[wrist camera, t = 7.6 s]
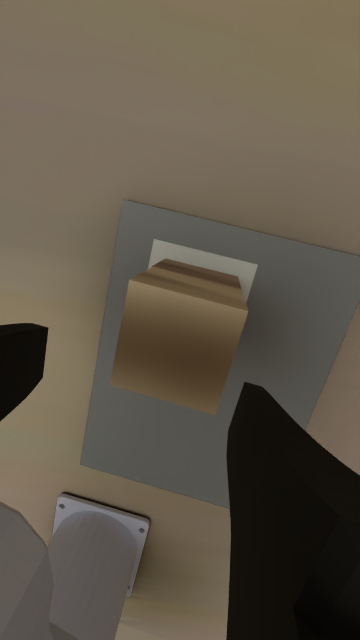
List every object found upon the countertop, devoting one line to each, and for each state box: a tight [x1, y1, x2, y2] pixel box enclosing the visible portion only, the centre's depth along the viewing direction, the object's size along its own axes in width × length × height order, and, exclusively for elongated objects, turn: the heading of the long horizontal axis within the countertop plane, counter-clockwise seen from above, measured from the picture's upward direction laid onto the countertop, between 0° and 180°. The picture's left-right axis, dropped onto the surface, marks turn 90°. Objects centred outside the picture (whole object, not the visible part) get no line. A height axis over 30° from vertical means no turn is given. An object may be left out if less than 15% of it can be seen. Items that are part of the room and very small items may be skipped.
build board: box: [80, 199, 360, 509], centre depth 22 cm, size 20×15×1 cm
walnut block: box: [152, 258, 241, 290], centre depth 18 cm, size 4×4×4 cm
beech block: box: [109, 267, 248, 415], centre depth 14 cm, size 4×4×4 cm
